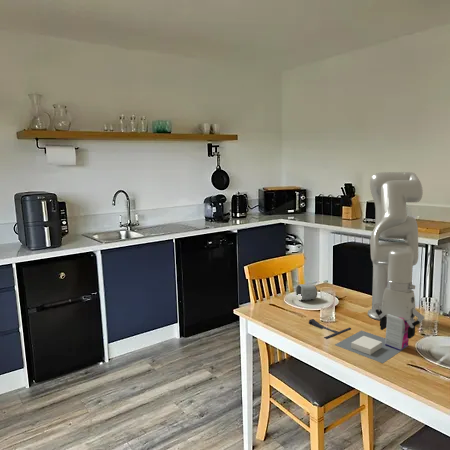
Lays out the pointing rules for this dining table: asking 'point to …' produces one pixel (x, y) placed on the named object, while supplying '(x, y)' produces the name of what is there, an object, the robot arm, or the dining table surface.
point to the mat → (379, 355)
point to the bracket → (327, 328)
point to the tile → (366, 345)
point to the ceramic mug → (306, 291)
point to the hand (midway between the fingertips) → (396, 332)
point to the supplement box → (396, 332)
